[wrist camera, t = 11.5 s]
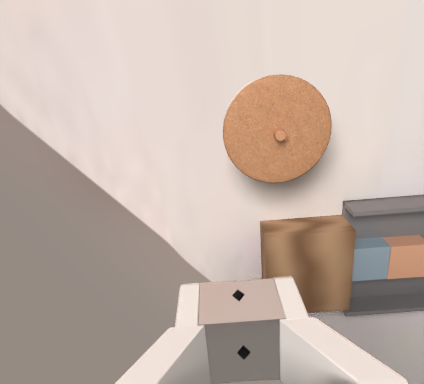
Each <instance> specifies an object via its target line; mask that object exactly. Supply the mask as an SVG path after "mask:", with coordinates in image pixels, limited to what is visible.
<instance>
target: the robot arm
mask: <svg viewBox="0 0 424 384" xmlns="http://www.w3.org/2000/svg"><path fill="white" fill-rule="evenodd" d="M245 380H246V381H255V380H280V381H281V383H282V384H408V382H407V380H406V379H405V378H404V377H402V376H401V375H399V374H398V373H396V372H395V371H393V370H392V369H391V368H389V367H388V366H386V365H385V364H383V363H382V362H380V361H379V360H377V359H376V358H374V357H373V356H371V355H370V354H368V353H367V352H366V351H364V350H363V349H361V348H360V347H358V346H357V345H355V344H354V343H352V342H351V341H349V340H348V339H346V338H345V337H344V336H342V335H341V334H339V333H338V332H336V331H335V330H333V329H332V328H330V327H329V326H327V325H326V324H324V323H323V322H322V321H320V320H319V319H317V318H316V317H310V318H309V315H308V313H307V310H306V308H305V305H304V303H303V300H302V298H301V296H300V293H299V291H298V288H297V286H296V283H295V281H294V278H293V277H292V276H284V277H274V278H270V279H258V280H246V281H225V282H208V283H191V284H182V285H181V286H180V291H179V299H178V307H177V315H176V324H175V327H172V328H169V329H168V330H167V331H166V332H165V333H164V334H163V335H162V336H161V337H160V338H159V339H158V340H157V341H156V342H155V343H154V344H153V345H152V346H151V347H150V348H149V349H148V350H147V351H146V352H145V353H144V354H143V355H142V356H141V358H140V359H138V361H137V362H136V363H135V364H134V365H133V366H132V367H131V368H130V369H129V370H128V371H127V372H126V373H125V374H124V375H123V376H122V377H121V378H120V379H119V380H118V381H117V382H116V383H115V384H219V383H229V382H239V381H245Z"/></svg>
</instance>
